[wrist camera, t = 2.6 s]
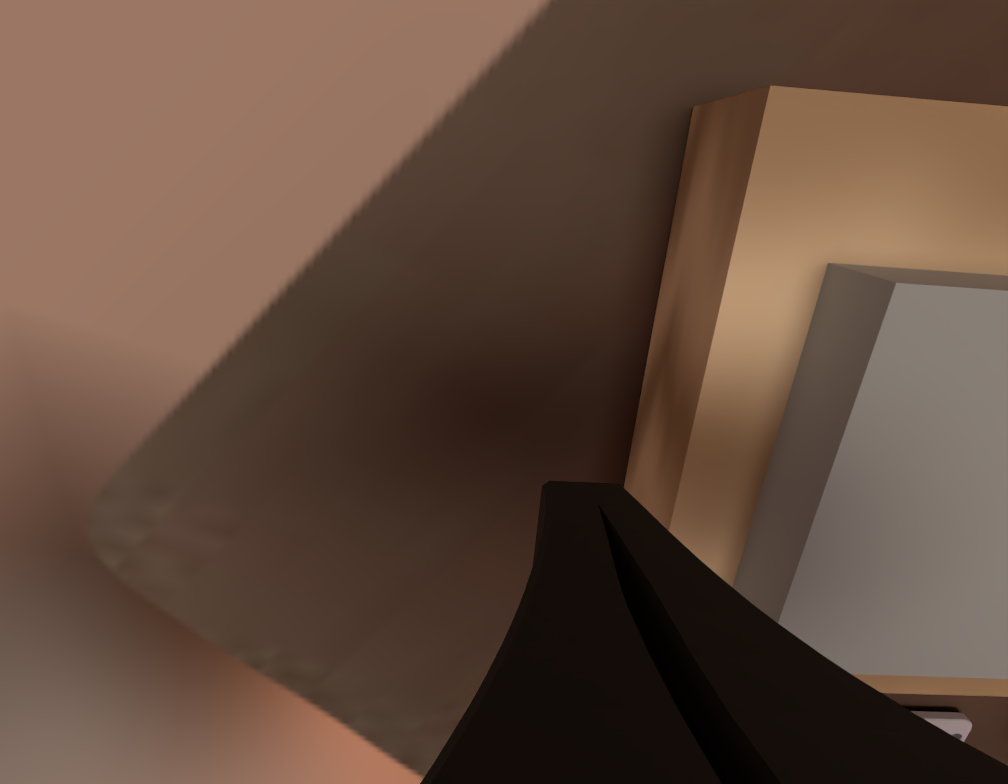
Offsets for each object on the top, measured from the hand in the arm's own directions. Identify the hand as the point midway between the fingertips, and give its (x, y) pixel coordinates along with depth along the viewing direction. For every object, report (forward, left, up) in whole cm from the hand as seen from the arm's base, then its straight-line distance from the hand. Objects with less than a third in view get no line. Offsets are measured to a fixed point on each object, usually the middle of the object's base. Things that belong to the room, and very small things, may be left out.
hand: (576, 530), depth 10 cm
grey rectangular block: (0, -8, -3) cm, 9 cm away
